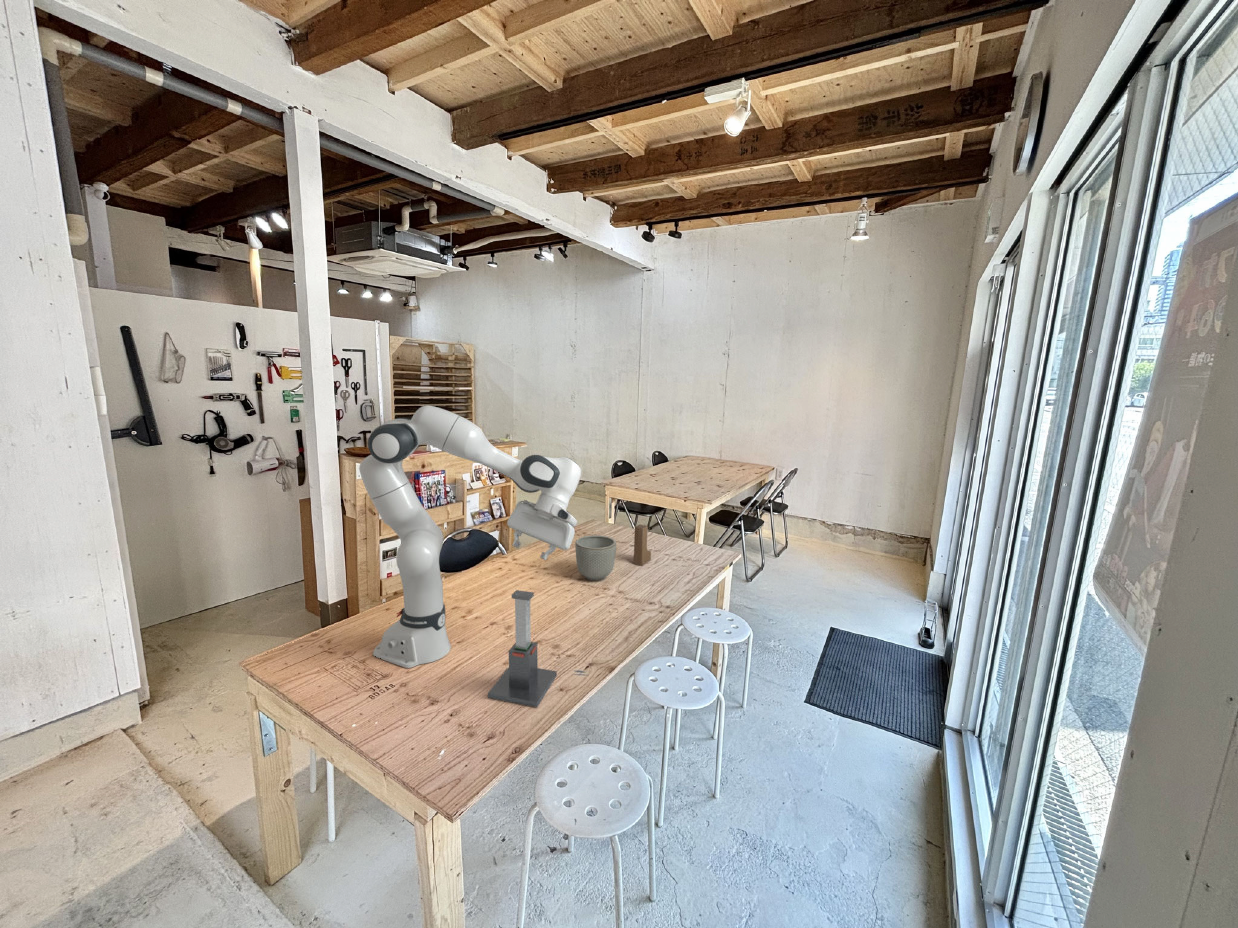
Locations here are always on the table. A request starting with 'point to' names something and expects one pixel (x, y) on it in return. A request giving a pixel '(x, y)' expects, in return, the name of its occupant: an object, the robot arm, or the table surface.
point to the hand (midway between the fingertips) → (528, 552)
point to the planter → (595, 556)
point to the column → (522, 619)
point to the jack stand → (523, 679)
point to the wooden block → (641, 546)
